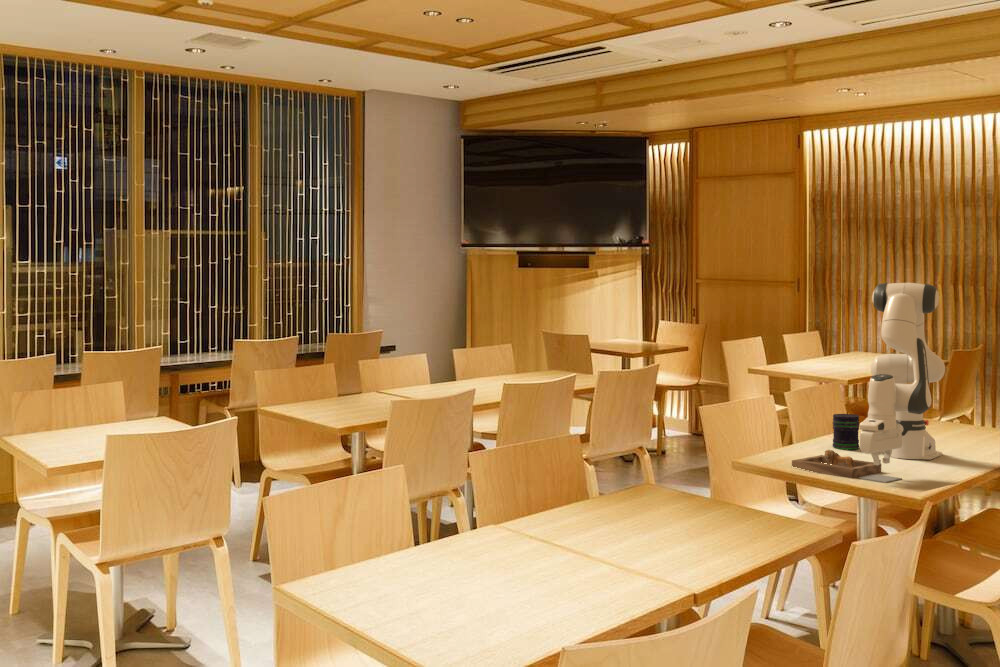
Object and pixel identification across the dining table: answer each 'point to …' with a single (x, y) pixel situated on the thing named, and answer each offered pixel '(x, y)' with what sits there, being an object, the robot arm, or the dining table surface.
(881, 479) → the rubber mat
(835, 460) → the lion figurine
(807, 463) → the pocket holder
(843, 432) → the storage jar
